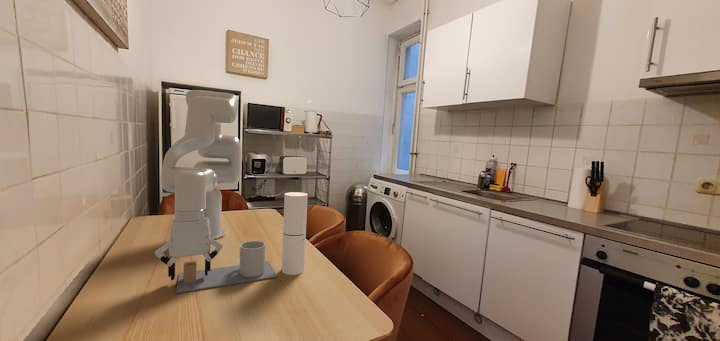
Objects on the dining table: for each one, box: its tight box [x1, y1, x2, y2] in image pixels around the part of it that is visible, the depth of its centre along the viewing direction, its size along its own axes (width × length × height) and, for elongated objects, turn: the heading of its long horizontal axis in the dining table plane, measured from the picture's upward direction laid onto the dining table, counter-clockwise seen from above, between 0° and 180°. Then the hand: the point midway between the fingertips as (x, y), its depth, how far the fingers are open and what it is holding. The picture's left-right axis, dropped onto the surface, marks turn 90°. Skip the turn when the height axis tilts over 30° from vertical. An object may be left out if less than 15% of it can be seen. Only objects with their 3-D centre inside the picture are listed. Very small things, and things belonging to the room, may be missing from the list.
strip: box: [175, 259, 278, 295], centre depth 87 cm, size 12×26×5 cm, turn 118°
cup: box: [239, 240, 266, 278], centre depth 89 cm, size 7×10×9 cm
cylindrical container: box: [281, 191, 308, 276], centre depth 93 cm, size 7×7×25 cm
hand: (190, 275), depth 82 cm, fingers open, 7 cm apart
